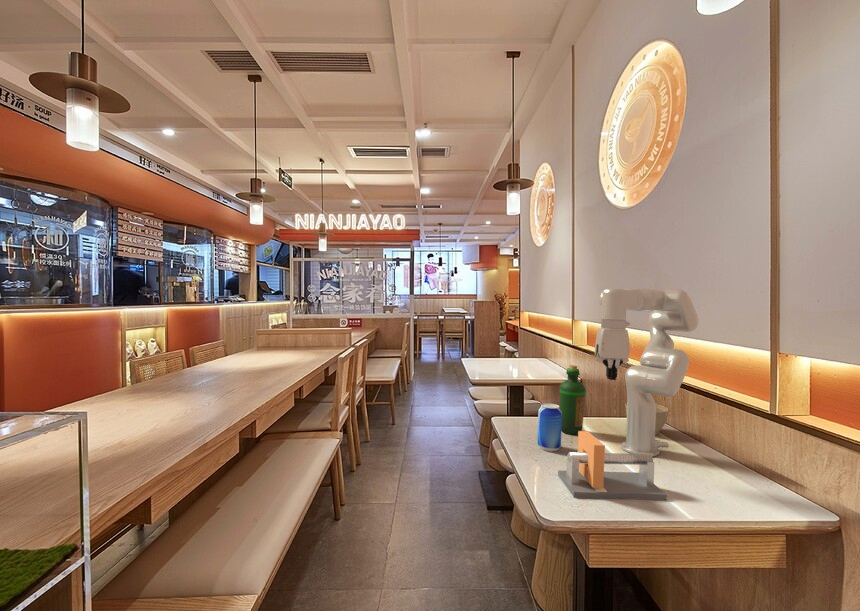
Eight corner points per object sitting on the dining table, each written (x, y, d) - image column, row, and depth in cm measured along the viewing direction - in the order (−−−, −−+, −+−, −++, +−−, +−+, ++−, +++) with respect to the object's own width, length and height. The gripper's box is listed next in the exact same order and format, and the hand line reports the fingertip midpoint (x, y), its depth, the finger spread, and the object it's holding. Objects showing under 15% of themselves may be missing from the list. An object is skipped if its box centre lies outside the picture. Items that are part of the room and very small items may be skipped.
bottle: (588, 436, 162) (590, 368, 161) (562, 436, 162) (564, 367, 162) (579, 428, 173) (581, 364, 172) (554, 427, 173) (556, 363, 172)
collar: (586, 469, 124) (588, 431, 124) (603, 487, 112) (604, 445, 112) (577, 469, 124) (578, 431, 124) (592, 487, 112) (594, 445, 112)
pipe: (645, 479, 120) (646, 451, 120) (653, 486, 116) (654, 456, 116) (566, 477, 121) (567, 449, 120) (571, 484, 116) (572, 454, 116)
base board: (640, 477, 125) (640, 472, 125) (666, 499, 111) (666, 493, 111) (557, 475, 125) (558, 469, 125) (573, 497, 111) (574, 491, 111)
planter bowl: (627, 423, 181) (628, 399, 181) (668, 430, 172) (669, 406, 172) (621, 432, 168) (622, 407, 168) (665, 441, 159) (666, 414, 159)
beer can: (557, 444, 152) (559, 403, 152) (563, 453, 144) (564, 409, 143) (535, 443, 153) (536, 402, 153) (539, 451, 145) (540, 407, 144)
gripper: (629, 324, 137) (628, 377, 138) (586, 323, 137) (584, 376, 138) (641, 326, 130) (639, 382, 130) (595, 325, 130) (593, 381, 130)
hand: (611, 379), depth 134 cm, fingers closed
